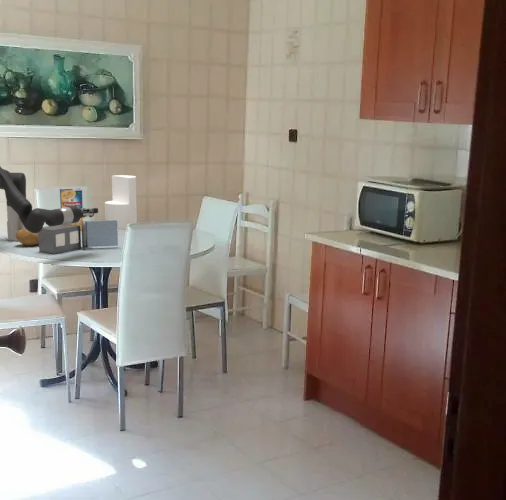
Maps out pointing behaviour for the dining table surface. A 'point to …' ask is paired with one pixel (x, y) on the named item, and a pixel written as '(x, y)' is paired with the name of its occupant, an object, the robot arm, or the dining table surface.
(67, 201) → the blue cardboard box
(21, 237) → the potato
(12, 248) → the dining table surface
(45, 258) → the dining table surface
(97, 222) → the dough scraper
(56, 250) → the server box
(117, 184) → the white l-shaped bracket
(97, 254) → the dining table surface
